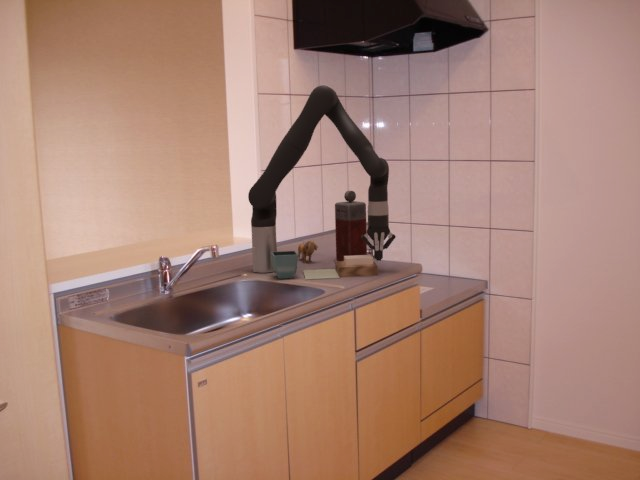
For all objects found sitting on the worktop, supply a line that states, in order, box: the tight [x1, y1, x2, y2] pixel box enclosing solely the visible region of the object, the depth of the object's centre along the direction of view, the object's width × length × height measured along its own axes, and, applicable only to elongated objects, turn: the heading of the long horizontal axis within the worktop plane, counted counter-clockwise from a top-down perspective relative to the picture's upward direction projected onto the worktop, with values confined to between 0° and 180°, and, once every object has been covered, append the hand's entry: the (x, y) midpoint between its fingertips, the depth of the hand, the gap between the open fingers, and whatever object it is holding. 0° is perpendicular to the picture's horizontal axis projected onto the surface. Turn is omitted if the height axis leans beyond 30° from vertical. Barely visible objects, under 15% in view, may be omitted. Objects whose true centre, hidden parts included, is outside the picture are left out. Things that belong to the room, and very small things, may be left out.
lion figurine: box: [297, 240, 319, 264], centre depth 290 cm, size 15×5×9 cm, turn 32°
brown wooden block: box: [334, 260, 379, 278], centre depth 264 cm, size 14×12×4 cm
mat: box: [302, 268, 341, 281], centre depth 263 cm, size 12×16×1 cm
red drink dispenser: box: [334, 190, 368, 261], centre depth 287 cm, size 9×11×28 cm
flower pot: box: [271, 250, 299, 280], centre depth 259 cm, size 9×9×9 cm
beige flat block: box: [344, 254, 374, 266], centre depth 263 cm, size 10×6×2 cm, turn 95°
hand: (378, 260), depth 264 cm, fingers closed
